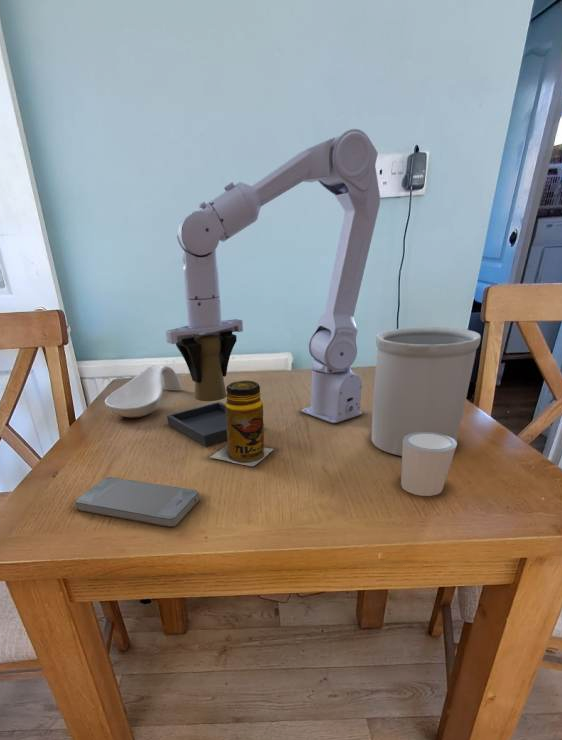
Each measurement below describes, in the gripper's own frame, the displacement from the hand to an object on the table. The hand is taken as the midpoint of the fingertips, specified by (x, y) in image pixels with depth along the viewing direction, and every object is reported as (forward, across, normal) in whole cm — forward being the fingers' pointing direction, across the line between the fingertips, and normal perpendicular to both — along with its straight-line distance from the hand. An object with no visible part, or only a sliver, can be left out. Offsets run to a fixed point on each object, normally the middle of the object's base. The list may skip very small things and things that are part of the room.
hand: (209, 378), depth 85 cm
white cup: (+10, -10, +40) cm, 42 cm away
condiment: (+10, +3, +14) cm, 17 cm away
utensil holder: (+10, -22, +29) cm, 38 cm away
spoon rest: (+10, +4, -21) cm, 24 cm away
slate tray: (+10, 0, 0) cm, 10 cm away
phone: (+10, +24, +18) cm, 32 cm away
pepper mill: (+4, 0, 0) cm, 4 cm away
